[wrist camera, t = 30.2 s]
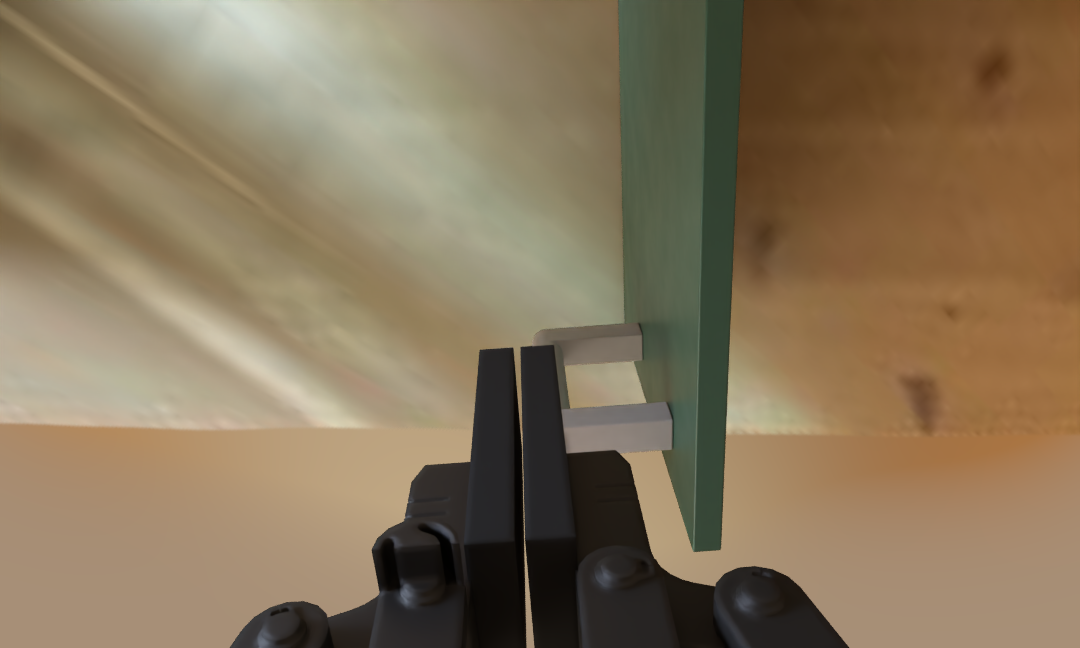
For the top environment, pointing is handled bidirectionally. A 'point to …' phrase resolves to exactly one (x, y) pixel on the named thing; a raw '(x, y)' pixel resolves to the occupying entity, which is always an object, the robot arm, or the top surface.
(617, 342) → the green cabinet door
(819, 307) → the top surface
